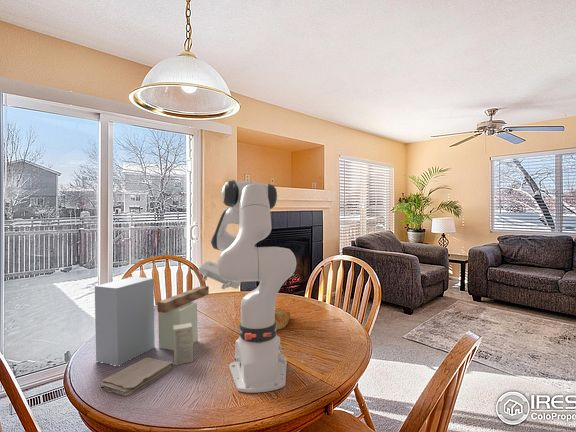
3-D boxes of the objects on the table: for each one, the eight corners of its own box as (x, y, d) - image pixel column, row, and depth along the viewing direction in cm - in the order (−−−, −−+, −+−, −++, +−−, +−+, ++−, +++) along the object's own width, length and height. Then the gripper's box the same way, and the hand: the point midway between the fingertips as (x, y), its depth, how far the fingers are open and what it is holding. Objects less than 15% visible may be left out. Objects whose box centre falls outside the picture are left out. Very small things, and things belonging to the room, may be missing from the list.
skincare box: (192, 356, 108) (192, 322, 108) (193, 362, 104) (193, 326, 104) (173, 359, 106) (173, 324, 106) (173, 365, 102) (173, 329, 102)
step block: (177, 337, 125) (176, 300, 125) (197, 340, 121) (197, 302, 121) (158, 347, 116) (158, 307, 115) (180, 351, 112) (179, 310, 112)
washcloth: (97, 390, 89) (97, 380, 89) (147, 362, 105) (147, 353, 105) (126, 400, 84) (126, 388, 84) (174, 368, 101) (174, 359, 101)
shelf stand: (134, 343, 120) (133, 276, 119) (154, 346, 116) (153, 278, 116) (96, 362, 105) (94, 286, 104) (117, 367, 101) (116, 288, 101)
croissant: (271, 343, 127) (279, 327, 125) (253, 328, 131) (260, 313, 129) (292, 324, 146) (299, 311, 144) (276, 312, 150) (282, 299, 148)
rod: (201, 293, 135) (201, 285, 135) (208, 294, 134) (208, 286, 134) (157, 311, 111) (157, 302, 111) (165, 312, 110) (165, 303, 109)
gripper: (208, 254, 148) (193, 268, 135) (246, 271, 146) (235, 286, 133) (205, 265, 150) (190, 280, 138) (243, 281, 149) (232, 298, 136)
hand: (213, 283), depth 136 cm, fingers open, 8 cm apart
